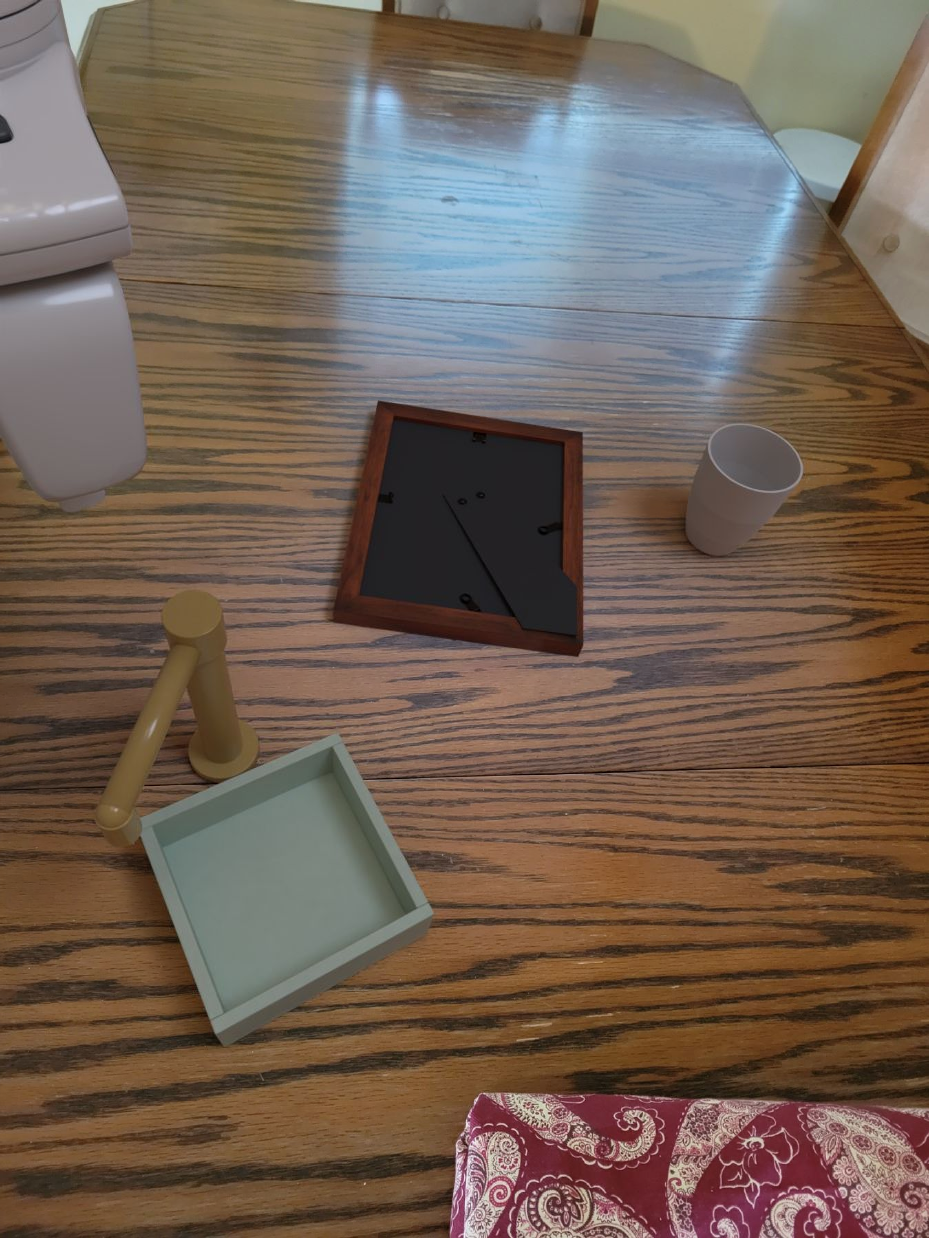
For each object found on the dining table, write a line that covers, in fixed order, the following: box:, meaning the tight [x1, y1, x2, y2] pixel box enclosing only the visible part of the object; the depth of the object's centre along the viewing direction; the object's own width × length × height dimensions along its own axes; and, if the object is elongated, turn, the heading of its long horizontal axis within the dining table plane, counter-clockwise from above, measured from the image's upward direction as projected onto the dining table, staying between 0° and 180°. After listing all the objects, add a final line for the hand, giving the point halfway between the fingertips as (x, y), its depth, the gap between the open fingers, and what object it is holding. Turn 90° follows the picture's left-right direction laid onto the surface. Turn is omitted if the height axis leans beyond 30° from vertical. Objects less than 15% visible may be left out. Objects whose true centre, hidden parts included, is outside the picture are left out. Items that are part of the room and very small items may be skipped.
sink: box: [139, 731, 435, 1048], centre depth 52 cm, size 14×14×5 cm
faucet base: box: [186, 649, 261, 784], centre depth 54 cm, size 5×5×14 cm
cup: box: [685, 423, 804, 557], centre depth 74 cm, size 8×8×10 cm
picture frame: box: [332, 400, 584, 657], centre depth 74 cm, size 20×2×25 cm
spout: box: [93, 589, 228, 848], centre depth 44 cm, size 14×3×4 cm, turn 170°
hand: (42, 426), depth 37 cm, fingers open, 8 cm apart
